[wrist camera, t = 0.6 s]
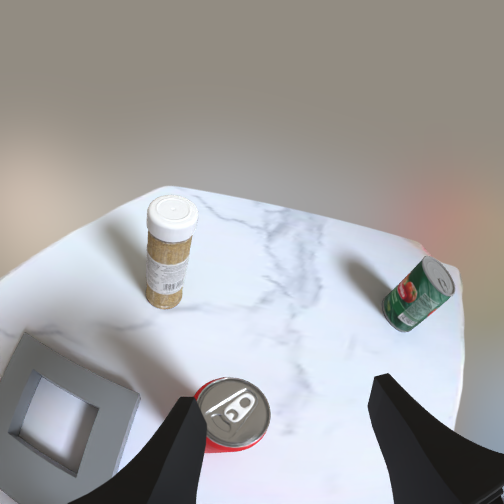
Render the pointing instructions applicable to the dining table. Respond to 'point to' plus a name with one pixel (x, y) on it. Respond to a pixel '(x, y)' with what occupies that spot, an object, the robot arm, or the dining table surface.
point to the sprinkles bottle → (168, 248)
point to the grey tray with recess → (38, 464)
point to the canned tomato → (418, 295)
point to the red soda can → (233, 414)
